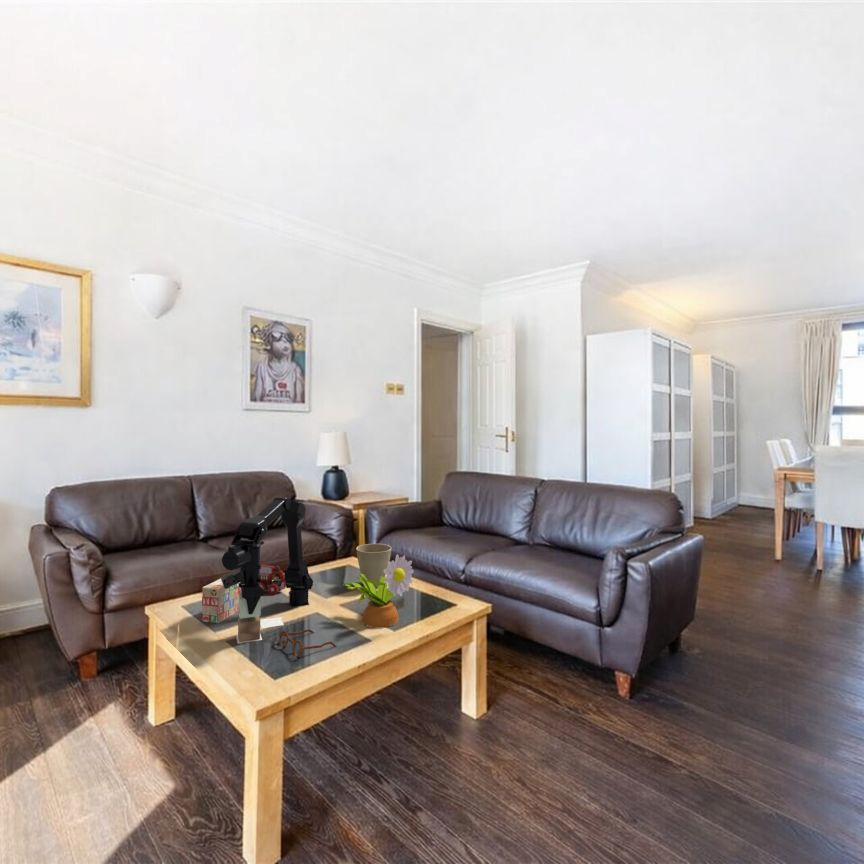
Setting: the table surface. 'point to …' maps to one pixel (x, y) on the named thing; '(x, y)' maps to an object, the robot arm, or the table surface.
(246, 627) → the walnut block
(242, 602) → the sage block
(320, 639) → the table surface
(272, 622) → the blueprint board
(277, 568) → the toy fire truck
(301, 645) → the glasses
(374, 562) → the plant pot
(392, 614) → the decorative plant
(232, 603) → the stack of blocks
